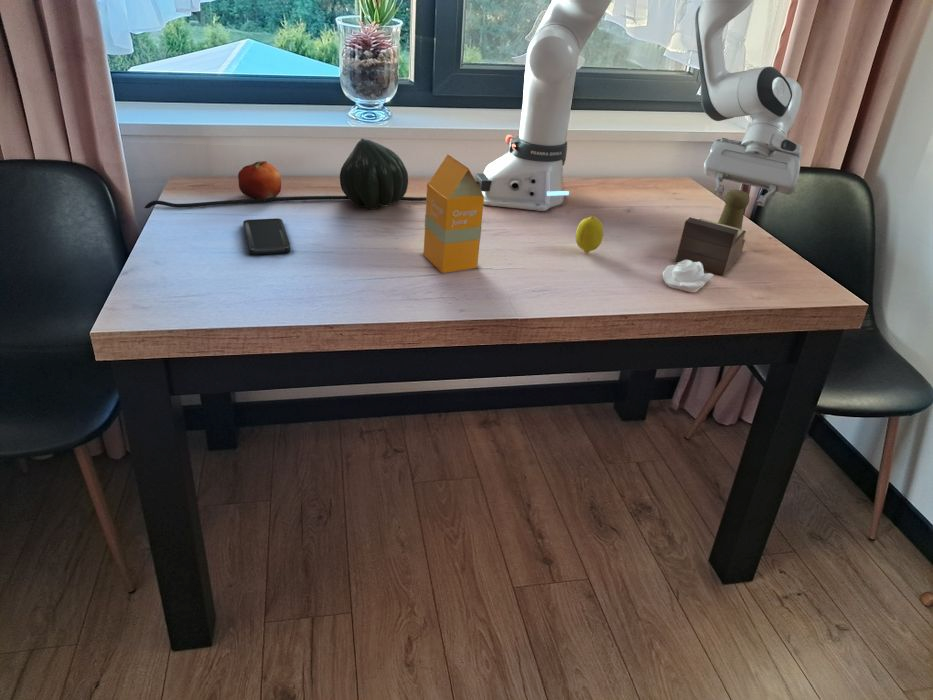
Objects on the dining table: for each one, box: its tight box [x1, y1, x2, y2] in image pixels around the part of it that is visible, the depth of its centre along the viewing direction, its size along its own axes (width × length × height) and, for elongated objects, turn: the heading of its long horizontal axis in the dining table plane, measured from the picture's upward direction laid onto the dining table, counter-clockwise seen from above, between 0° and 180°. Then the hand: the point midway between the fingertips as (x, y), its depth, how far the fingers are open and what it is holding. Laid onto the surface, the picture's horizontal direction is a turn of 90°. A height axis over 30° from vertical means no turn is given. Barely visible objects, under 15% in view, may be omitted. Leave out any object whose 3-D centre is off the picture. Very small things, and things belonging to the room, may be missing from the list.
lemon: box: [575, 215, 604, 254], centre depth 152 cm, size 6×6×8 cm
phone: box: [242, 218, 291, 256], centre depth 147 cm, size 8×1×15 cm
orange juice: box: [423, 153, 485, 274], centre depth 140 cm, size 8×9×20 cm
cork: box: [717, 189, 751, 230], centre depth 164 cm, size 6×6×11 cm
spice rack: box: [675, 216, 746, 276], centre depth 155 cm, size 15×10×9 cm, turn 148°
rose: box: [662, 260, 714, 293], centre depth 144 cm, size 10×4×10 cm
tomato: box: [237, 160, 282, 199], centre depth 164 cm, size 9×9×8 cm
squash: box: [339, 138, 409, 210], centre depth 166 cm, size 14×15×15 cm
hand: (738, 199), depth 164 cm, fingers open, 8 cm apart
